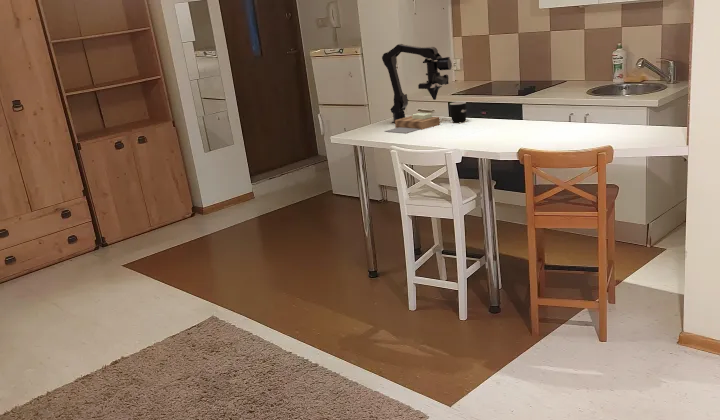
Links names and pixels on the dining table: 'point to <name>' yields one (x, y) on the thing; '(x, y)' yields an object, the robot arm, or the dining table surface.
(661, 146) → the dining table surface
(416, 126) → the brown wooden flat block
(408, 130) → the mat
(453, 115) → the mug
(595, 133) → the dining table surface
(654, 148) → the dining table surface
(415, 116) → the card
